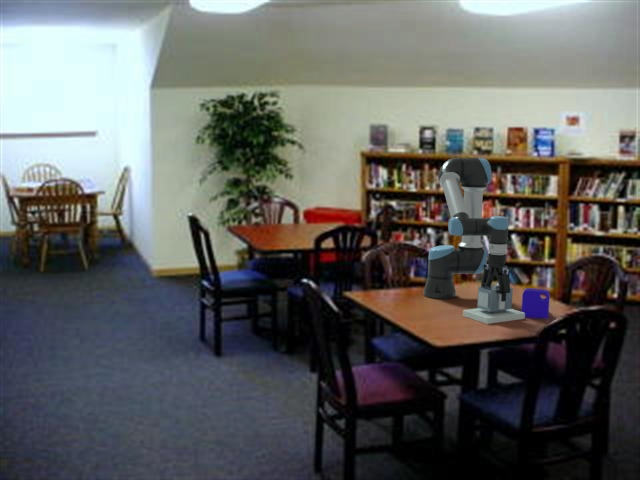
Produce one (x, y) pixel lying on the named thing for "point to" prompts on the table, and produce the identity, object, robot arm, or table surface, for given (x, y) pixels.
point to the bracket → (535, 303)
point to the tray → (493, 315)
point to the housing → (492, 298)
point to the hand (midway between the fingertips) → (494, 306)
